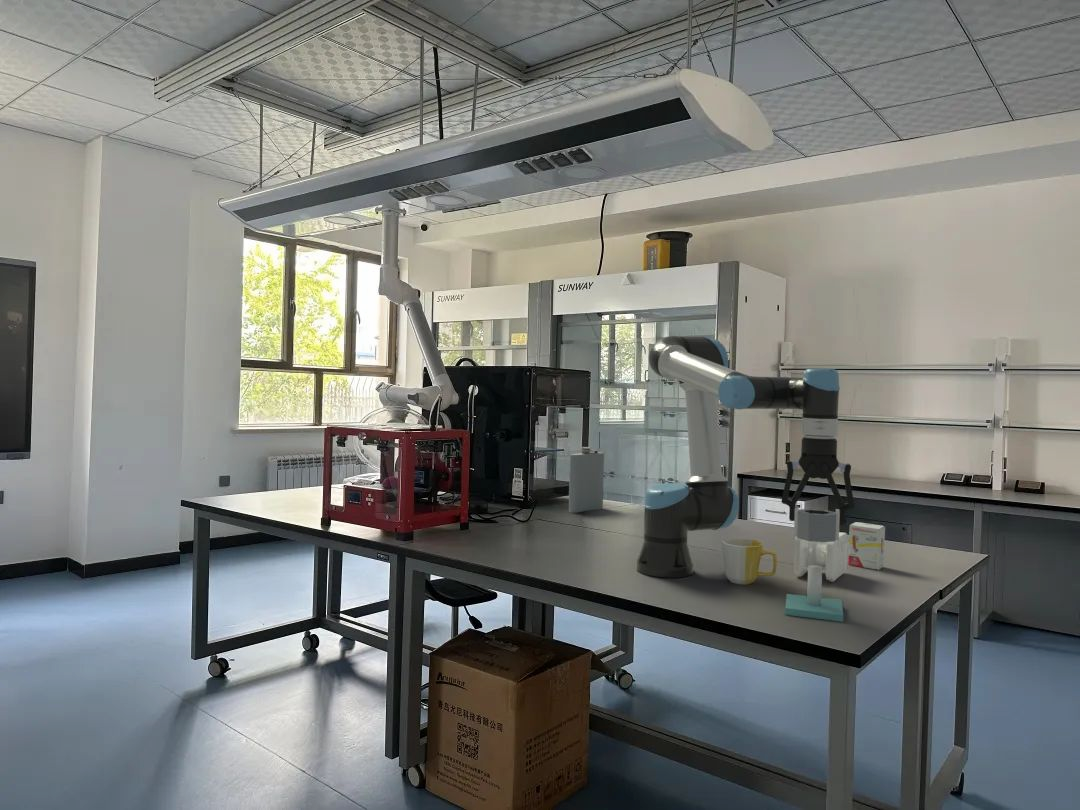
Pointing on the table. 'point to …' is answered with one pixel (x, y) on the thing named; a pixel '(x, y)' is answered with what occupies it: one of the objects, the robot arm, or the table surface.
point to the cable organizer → (822, 556)
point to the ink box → (866, 545)
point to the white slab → (586, 480)
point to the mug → (744, 559)
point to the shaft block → (814, 600)
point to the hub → (816, 525)
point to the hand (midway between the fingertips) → (816, 537)
